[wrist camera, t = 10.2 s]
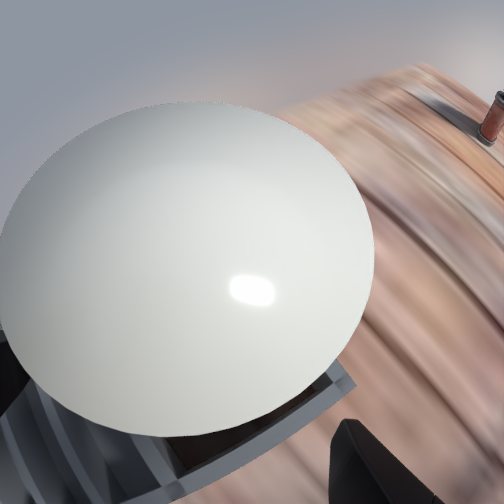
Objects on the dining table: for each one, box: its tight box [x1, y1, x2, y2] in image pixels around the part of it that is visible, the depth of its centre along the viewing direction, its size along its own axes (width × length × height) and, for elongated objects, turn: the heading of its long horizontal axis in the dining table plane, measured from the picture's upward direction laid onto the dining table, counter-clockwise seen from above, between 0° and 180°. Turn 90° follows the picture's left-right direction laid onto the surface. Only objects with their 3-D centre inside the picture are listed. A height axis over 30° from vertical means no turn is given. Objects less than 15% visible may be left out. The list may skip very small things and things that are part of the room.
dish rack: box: [0, 359, 357, 504], centre depth 11 cm, size 23×10×4 cm, turn 124°
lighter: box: [476, 91, 504, 147], centre depth 29 cm, size 8×3×10 cm, turn 133°
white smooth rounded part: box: [0, 102, 374, 437], centre depth 10 cm, size 6×6×13 cm
